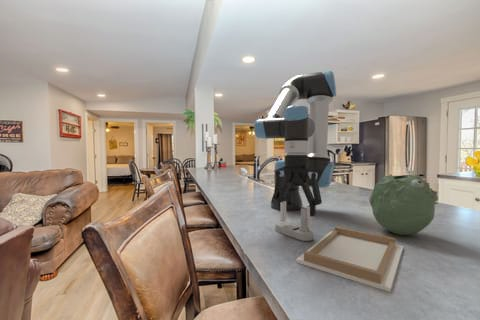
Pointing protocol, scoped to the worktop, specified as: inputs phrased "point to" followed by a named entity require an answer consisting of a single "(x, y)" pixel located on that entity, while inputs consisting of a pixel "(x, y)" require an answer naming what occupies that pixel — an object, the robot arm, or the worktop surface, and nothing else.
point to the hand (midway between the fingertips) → (296, 223)
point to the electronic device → (296, 228)
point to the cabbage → (403, 203)
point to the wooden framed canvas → (356, 257)
